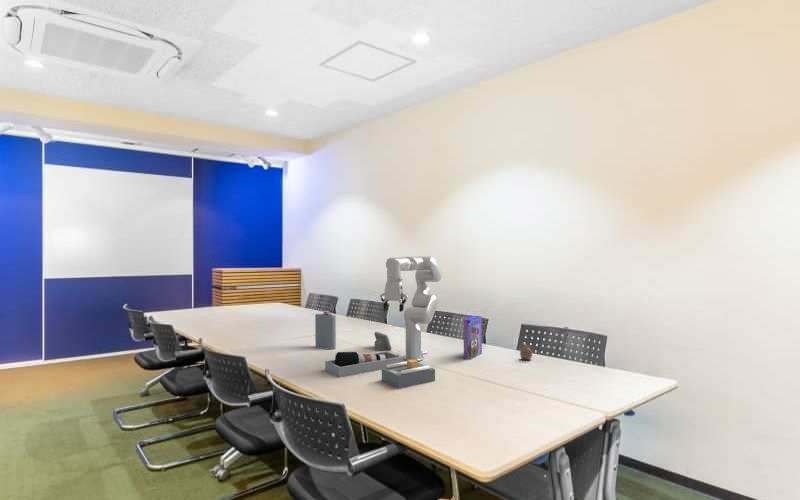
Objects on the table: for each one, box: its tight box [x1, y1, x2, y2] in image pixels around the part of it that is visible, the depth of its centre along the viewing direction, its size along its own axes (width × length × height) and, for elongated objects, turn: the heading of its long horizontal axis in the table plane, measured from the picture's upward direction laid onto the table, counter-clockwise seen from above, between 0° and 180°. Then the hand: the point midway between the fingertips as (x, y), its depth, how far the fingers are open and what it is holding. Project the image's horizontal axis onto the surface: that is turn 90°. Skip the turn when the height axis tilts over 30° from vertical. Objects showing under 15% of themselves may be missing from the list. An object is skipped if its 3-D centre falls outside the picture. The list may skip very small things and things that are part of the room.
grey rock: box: [373, 331, 393, 352], centre depth 301 cm, size 16×9×11 cm, turn 20°
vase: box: [519, 344, 533, 361], centre depth 270 cm, size 7×7×9 cm
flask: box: [314, 310, 337, 351], centre depth 305 cm, size 17×5×25 cm, turn 55°
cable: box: [334, 351, 390, 367], centre depth 254 cm, size 10×34×10 cm, turn 119°
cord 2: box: [401, 364, 432, 375], centre depth 223 cm, size 18×2×2 cm, turn 124°
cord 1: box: [386, 360, 407, 369], centre depth 234 cm, size 18×2×2 cm, turn 124°
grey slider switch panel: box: [381, 362, 436, 389], centre depth 229 cm, size 22×16×6 cm
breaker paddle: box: [407, 360, 419, 369], centre depth 230 cm, size 4×4×4 cm
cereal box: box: [463, 315, 483, 360], centre depth 280 cm, size 17×5×24 cm, turn 148°
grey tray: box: [324, 350, 404, 378], centre depth 253 cm, size 41×17×5 cm, turn 124°
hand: (393, 310), depth 250 cm, fingers open, 9 cm apart
